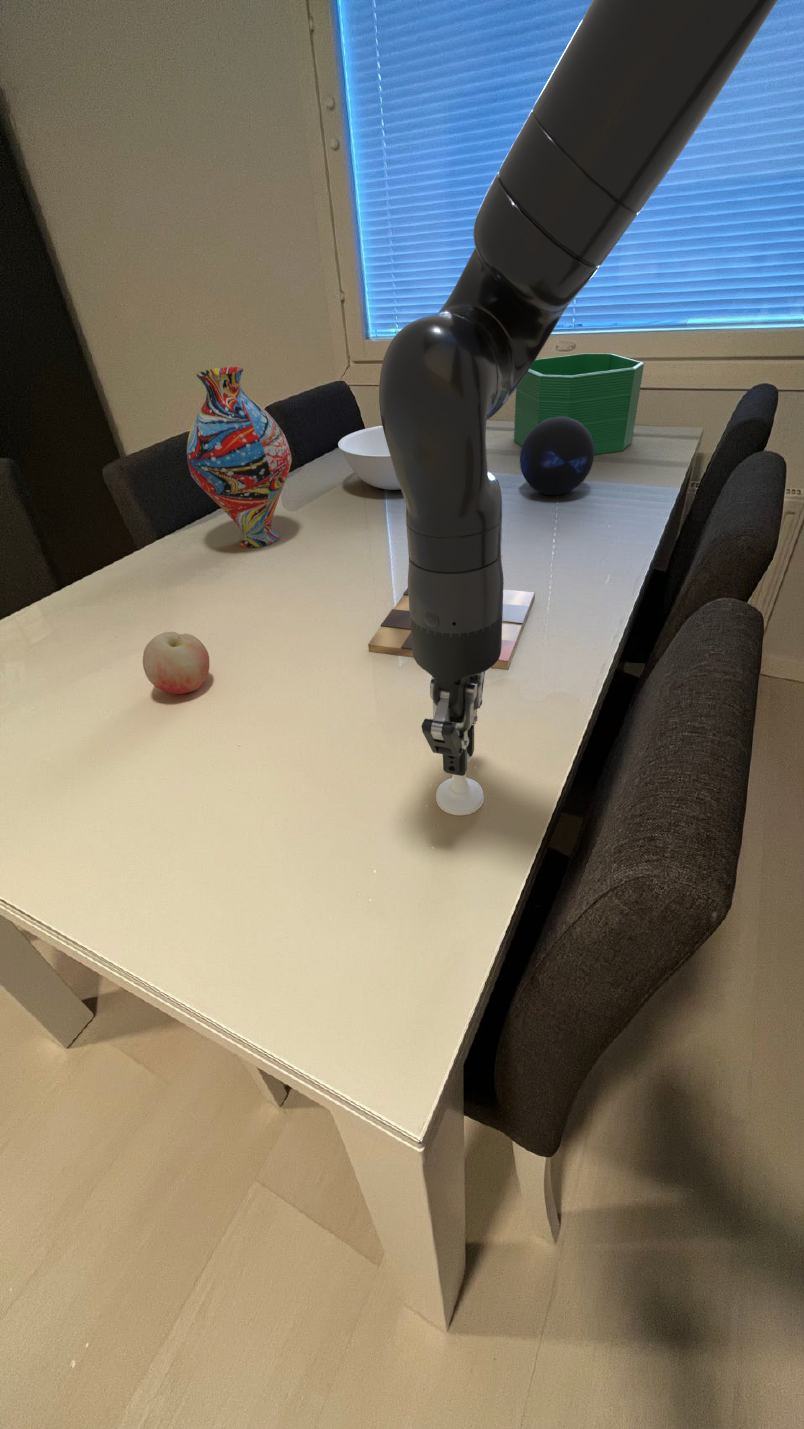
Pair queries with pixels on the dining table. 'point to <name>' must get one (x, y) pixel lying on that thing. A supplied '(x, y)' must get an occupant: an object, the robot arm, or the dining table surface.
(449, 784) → the chess piece
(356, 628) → the dining table surface
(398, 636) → the game board
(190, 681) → the fruit
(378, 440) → the bowl
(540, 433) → the decorative sphere
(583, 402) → the planter
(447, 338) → the robot arm
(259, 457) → the vase
